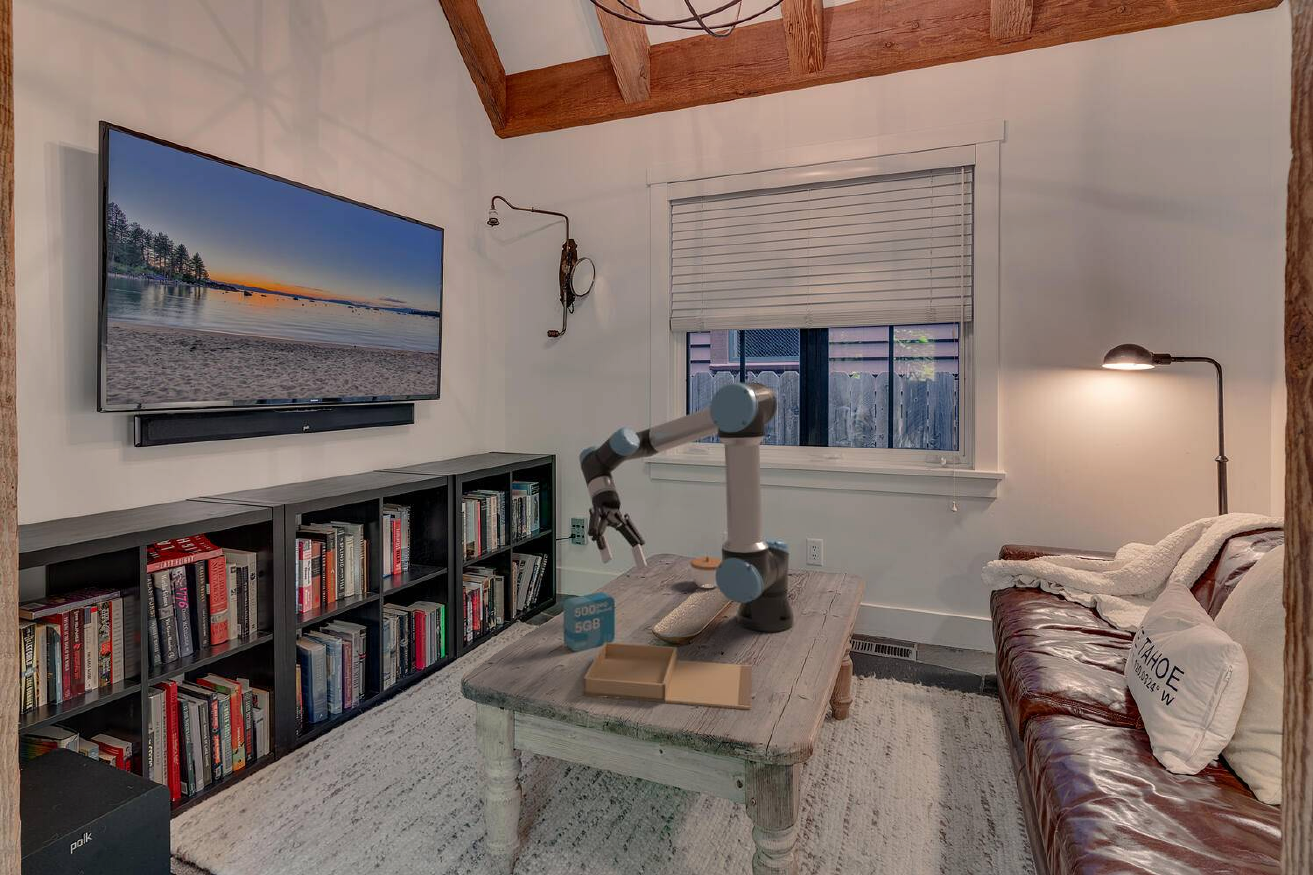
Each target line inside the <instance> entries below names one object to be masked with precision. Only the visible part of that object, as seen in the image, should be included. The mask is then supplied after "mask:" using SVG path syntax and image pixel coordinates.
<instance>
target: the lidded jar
mask: <svg viewBox="0 0 1313 875" xmlns="http://www.w3.org/2000/svg"><path fill="white" fill-rule="evenodd" d="M721 562H722V559H720V558H717V557H711V556H705V557H696V558H693V559H692V560H690V574H691V578H692V580H693V582H694V583H695V584H696V585H697V588H700V586H703V585H705V584H717V583H716V578H715V574H716V570H717V567H718V565H719V564H720V563H721Z"/></svg>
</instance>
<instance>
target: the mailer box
mask: <svg viewBox="0 0 1313 875" xmlns="http://www.w3.org/2000/svg"><path fill="white" fill-rule="evenodd" d="M601 646H602V647H601V648H600V649H599V651H598V653H597V654H596V657H595V658H594V660H593V662H592V663H591V665H590V667H589V668H588V670H587V671H586V673H585V675H584V677H583V679H582V680H583V681H582V689H583V691H582V692H583V693H582V694H583V696H584V695H587V696H586V697H596V696H607V697H606V698H608V697H619V698H625V699H624V700H631V699H636V700H635V701H643V700H646V701H647V702H655V701H659V702H658V703H667V702H668V704H679V703H682V704H681V705H691V706H693V705H694V706H704V707H705V706H706V707H715V708H728V709H738V710H751V692H752V665H750V664H749V665H748V664H746V665H745V664H733V663H732V664H731V663H719V662H708V661H707V662H706V661H695V660H680V659H678V647H677V646H663V645H652V644H651V645H647V644H636V643H621V642H620V643H619V642H611V643H610V642H605V643H604V644H603V645H601ZM619 698H618V699H619Z"/></svg>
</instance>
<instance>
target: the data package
mask: <svg viewBox="0 0 1313 875" xmlns="http://www.w3.org/2000/svg"><path fill="white" fill-rule="evenodd" d="M615 603H616V602H615V599H614V597H612V596H611V595H610V594H607V593H605V592H604V591H601V592H600V591H599V592H594V593H590V594H585V595H581V596H580V595H579V596H575V597H571V598H568V599H566V600H564V602H563V643H564V644H565V645H566V647H568V648H570V649H571V650H572V652H581V651H585V650H589V649H593V648H597V647H601V646H603V644H604V643H605V642H610V643H613V642H614V640H615V634H616V633H615V632H616V626H615V624H616V621H615V620H616V619H615V617H616V614H615V610H616V608H615V607H616V604H615Z"/></svg>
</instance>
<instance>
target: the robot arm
mask: <svg viewBox="0 0 1313 875" xmlns="http://www.w3.org/2000/svg"><path fill="white" fill-rule="evenodd" d="M777 409H778V401H777V397H776V394H775V393H774V392H773V390H772V389H771V388H770V387H769V386H767V385H765V384H763V383H760V382H739V381H738V382H732V383H729V384H726V385H723V386H722V387H720V388H719V389H718V390H717V391H716V392H715V393H714V395H713V396H712V399H711V401H710V405H709V407H707V408H704V409H702V410H699V411H696V412H692V413H690V414H686V415H684V416H681V417H679V418H678V417H677V418H676V419H673V420H670V421H667V422H664V423H661V424H659V425H656V426H653V427H650V428H647V429H643V430H642V431H637V432H635V431H634V430H632V429H631V428H628V427H625V426H624V427H621V428H619V429H617V430H616V431H615V432H613V433H612V434H611V435H610V437H609V438H607V439H606V440H605V442H603V443H602V444H601V445H600V446H597V445H595V446H594V445H592V446H588V448H585V449H583V450H582V451H581V452H580V454H579V456H578V459H579V464H580V470H581V472H582V474H583V477H584V480H585V483H586V486H587V490H588V494H589V496H590V500H591V504H592V507H590V508H589V509H588V510H589V512H588V513H589V521H588V529H587V535H588V536H589V537H590V538H591V541H592V542H595V543H596V545H597V549H598V550H599V553H600V556H601V559H602V563H603V564H607V563H608V562H610V561H611V560H612V559H613V554H612V551H611V548H610V545H609V542H608V541H609V540H608V539H607V538H608V537H607V536H606V535H604V533H605V531H606V529H607V527H610V528H612V529H614V530H615V531H617V532H619V533H620V534H621V536H623V538H624V539H625V540H626V542H627V543H628V544H629V545H630V546H631V547H632V548H630V550H631V553H632V556H633V560H634V562H635V565H636V568H637V570H638V571H641V570H643V569H644V568H646V567H647V566H648V564H647V560H646V558H645V554H644V552H643V548H642V546H643V545H645V544H646V541H645V540H644V538H643V537H642V535H641V534H640V532H639V531H638V529H637V527H636V526H635V525H634V522H633V521H632V520H631V517H630V514H629V513H625V514H622V512H621V510H620V508H621V505H622V503H621V500H620V496H619V494H618V490H617V487H616V485H615V481H614V478H613V475H612V472H613V471H615V470H616V469H617V468H618V467H619V466H620V465H621V464H623V463H624V462H625V461H630V460H637V459H641V458H648V457H653V456H655V455H657V454H658V453H661V452H665V451H667V450H670V449H674V448H677V447H679V446H682V445H686V444H689V443H691V442H695V441H698V440H702V439H704V438H707V437H711V436H714V435H717V436H718V437H717V438H718V440H719V441H721V443H722V444H723V446H724V464H725V465H724V466H725V467H724V468H725V494H726V495H725V498H726V499H725V501H726V502H725V504H726V530H727V531H726V532H727V537H726V538H727V539H726V540H725V541H724V543H722V545H721V560H722V562H721V563H720V564H719V565H718V567H717V570H716V574H715V578H716V583H717V588H718V589H719V591H720V592H721V593H722V594H723V595H724V596H725V598H727V599H728V600H730V601H732V602H734V603H739V606H738V609H737V612H736V613H737V614H736V622H737V623H738V624H739V625H741V626H742V627H744V628H746V629H749V630H753V631H757V632H767V633H768V632H773V633H774V632H782V631H786V630H788V629H790V628H792V627H793V626H794V620H795V616H794V611H793V608H792V605H791V602H790V598H789V595H788V593H789V592H788V590H789V564H790V563H789V562H790V558H789V557H790V551H789V549H790V548H789V546H790V545H789V543H788V541H786V540H784V539H781V538H778V537H771V536H763V533H762V532H763V528H762V495H761V494H762V493H761V492H762V491H761V460H760V459H761V458H760V457H761V456H760V445H761V443H762V441H763V440H764V439H765V438H766V425H767V424H768V423H770V422H771V421H772V420H773V419H774V417H775V415H776V413H777Z"/></svg>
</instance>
